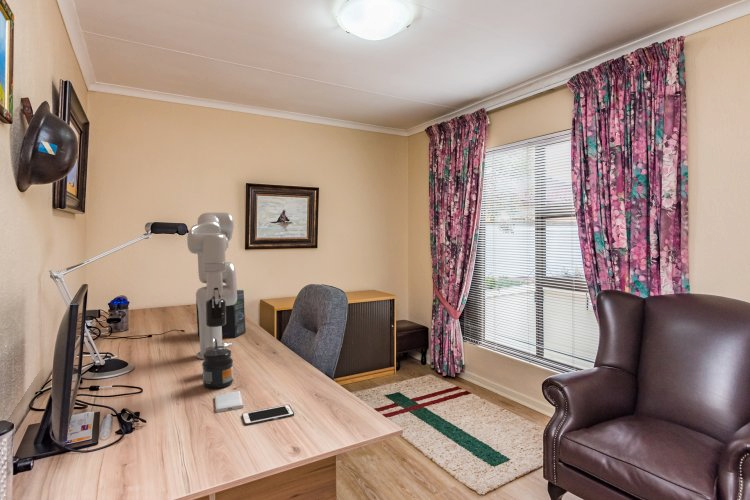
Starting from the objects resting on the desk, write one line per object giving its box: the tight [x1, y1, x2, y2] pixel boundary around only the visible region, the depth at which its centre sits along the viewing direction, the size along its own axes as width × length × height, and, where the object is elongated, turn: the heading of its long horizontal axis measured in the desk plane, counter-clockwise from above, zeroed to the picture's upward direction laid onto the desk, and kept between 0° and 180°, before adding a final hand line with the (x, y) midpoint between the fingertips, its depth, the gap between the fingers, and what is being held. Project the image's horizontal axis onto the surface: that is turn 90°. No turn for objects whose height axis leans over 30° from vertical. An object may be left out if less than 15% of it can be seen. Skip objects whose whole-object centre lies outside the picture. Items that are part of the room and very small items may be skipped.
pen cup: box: [205, 339, 224, 352], centre depth 163 cm, size 7×7×14 cm
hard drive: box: [214, 390, 244, 413], centre depth 135 cm, size 2×8×12 cm
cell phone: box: [241, 404, 295, 426], centre depth 125 cm, size 8×15×1 cm, turn 115°
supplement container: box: [201, 348, 234, 390], centre depth 151 cm, size 10×10×12 cm
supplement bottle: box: [206, 292, 226, 327], centre depth 150 cm, size 7×7×12 cm
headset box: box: [195, 289, 247, 338], centre depth 225 cm, size 22×12×26 cm, turn 81°
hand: (216, 316), depth 150 cm, fingers closed on supplement bottle, 6 cm apart
